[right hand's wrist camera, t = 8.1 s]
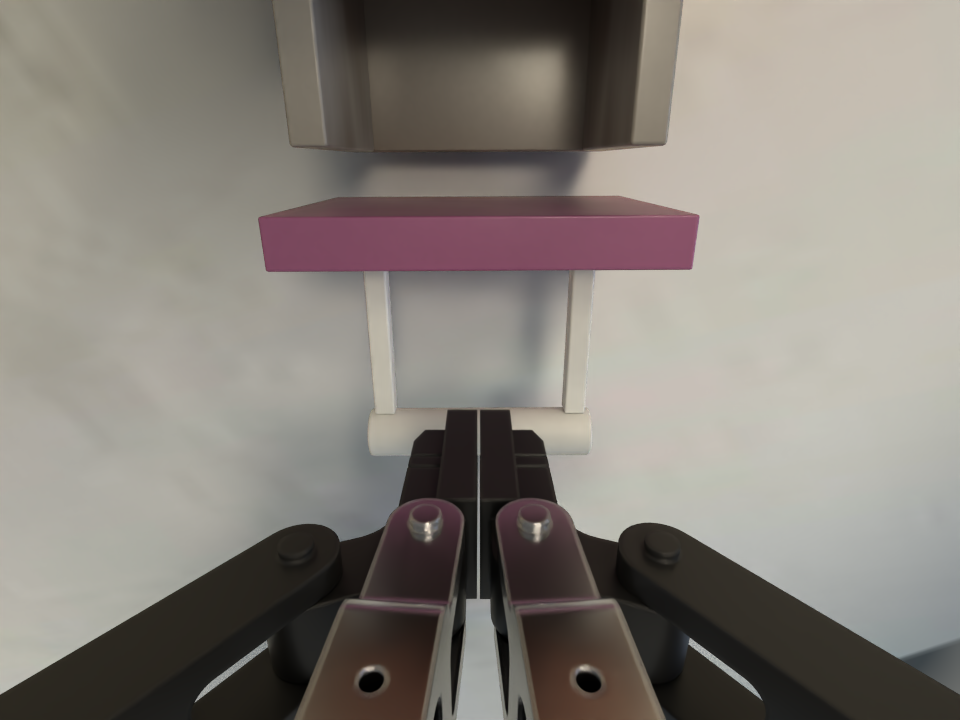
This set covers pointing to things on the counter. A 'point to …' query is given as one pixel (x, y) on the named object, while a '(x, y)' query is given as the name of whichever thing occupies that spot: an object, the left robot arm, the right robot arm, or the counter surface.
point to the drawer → (478, 128)
